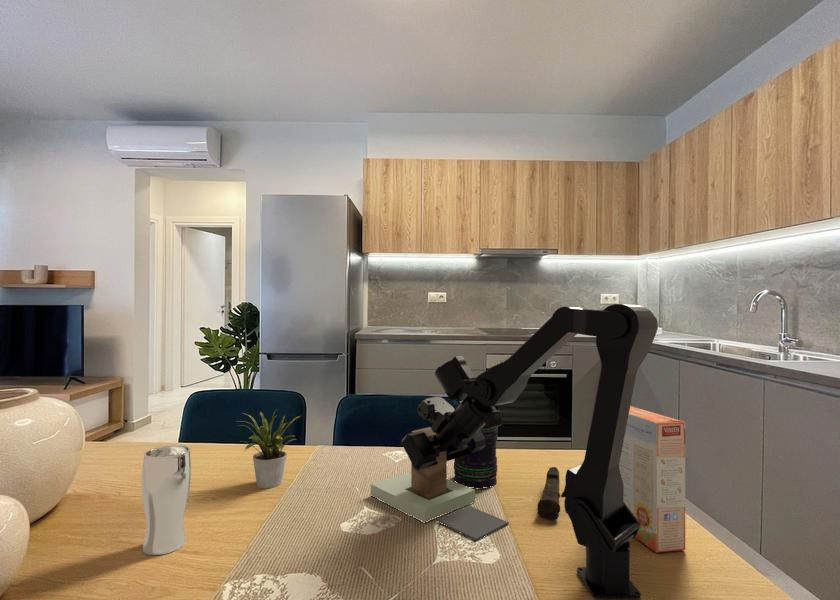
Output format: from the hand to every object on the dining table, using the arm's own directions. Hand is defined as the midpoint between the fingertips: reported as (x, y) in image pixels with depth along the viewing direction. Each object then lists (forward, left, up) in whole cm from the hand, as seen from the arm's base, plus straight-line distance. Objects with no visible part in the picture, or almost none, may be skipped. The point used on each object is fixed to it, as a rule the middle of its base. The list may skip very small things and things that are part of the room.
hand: (424, 465), depth 90 cm
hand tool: (+1, -26, -7) cm, 27 cm away
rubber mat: (-10, -9, -7) cm, 15 cm away
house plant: (+8, +35, -7) cm, 37 cm away
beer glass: (-18, +42, -7) cm, 46 cm away
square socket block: (0, 0, -7) cm, 7 cm away
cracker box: (-13, -38, -7) cm, 41 cm away
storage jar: (+11, -12, -7) cm, 18 cm away
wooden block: (-1, -1, -7) cm, 7 cm away
